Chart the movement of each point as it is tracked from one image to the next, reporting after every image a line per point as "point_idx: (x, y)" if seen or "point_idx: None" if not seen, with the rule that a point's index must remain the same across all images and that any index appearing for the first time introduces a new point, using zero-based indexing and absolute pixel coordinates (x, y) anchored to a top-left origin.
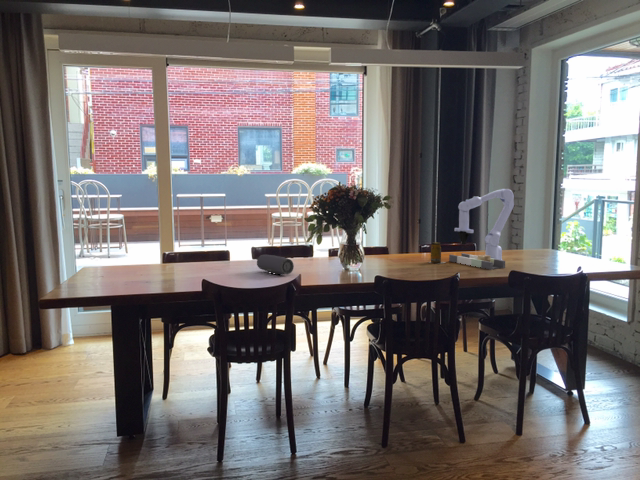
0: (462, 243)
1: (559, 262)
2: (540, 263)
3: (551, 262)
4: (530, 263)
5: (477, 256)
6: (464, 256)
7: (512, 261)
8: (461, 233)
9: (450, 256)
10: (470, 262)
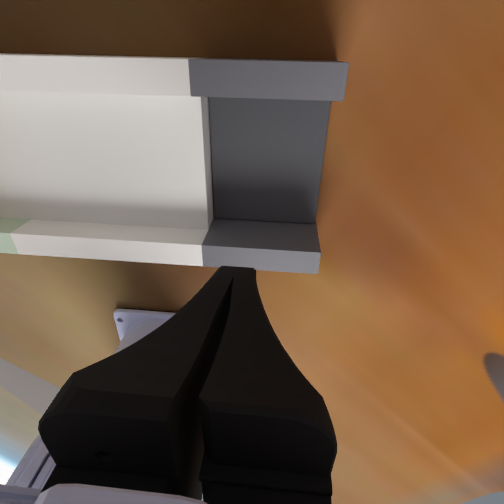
0: (228, 269)
1: (14, 470)
2: (5, 423)
3: (21, 457)
4: (15, 402)
5: (92, 238)
6: (274, 237)
7: None
8: (125, 393)
9: (321, 61)
10: None
